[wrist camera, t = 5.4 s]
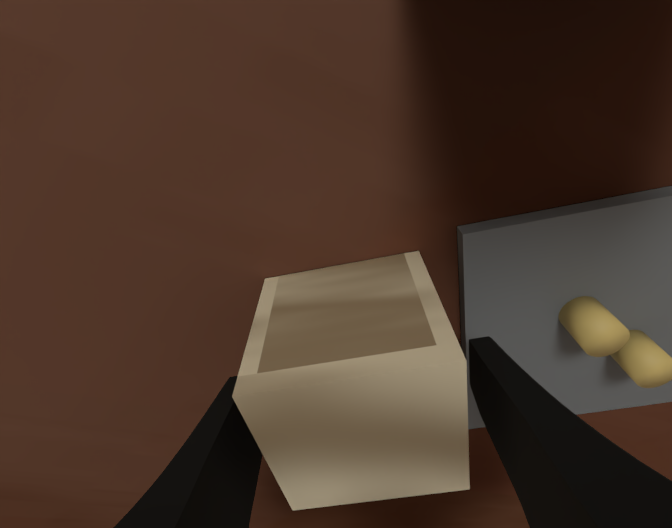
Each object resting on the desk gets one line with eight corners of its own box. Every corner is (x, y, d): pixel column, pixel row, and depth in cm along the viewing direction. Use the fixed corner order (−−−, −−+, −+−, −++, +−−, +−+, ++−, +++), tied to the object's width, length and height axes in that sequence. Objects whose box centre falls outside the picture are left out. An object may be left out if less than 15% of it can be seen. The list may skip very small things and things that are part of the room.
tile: (694, 385, 16) (740, 428, 14) (464, 417, 17) (480, 462, 15) (793, 162, 11) (885, 186, 9) (457, 226, 12) (479, 258, 10)
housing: (430, 362, 15) (469, 489, 11) (303, 382, 15) (292, 510, 11) (418, 250, 12) (466, 360, 8) (265, 278, 13) (231, 396, 8)
